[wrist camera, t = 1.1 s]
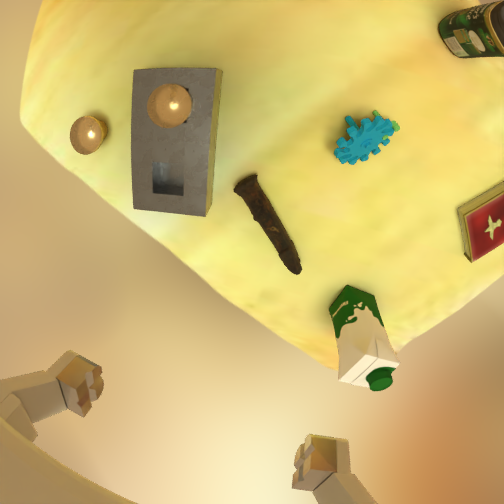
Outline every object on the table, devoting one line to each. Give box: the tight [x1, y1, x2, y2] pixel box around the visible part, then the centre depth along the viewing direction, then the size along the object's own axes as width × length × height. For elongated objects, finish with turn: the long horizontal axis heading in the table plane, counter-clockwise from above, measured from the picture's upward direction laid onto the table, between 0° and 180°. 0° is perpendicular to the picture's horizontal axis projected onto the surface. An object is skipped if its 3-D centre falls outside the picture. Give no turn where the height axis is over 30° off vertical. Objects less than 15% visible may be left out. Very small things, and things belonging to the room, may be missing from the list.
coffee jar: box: [439, 0, 504, 58], centre depth 20 cm, size 10×8×19 cm
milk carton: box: [329, 285, 400, 391], centre depth 49 cm, size 9×9×20 cm
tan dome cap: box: [70, 116, 108, 155], centre depth 41 cm, size 6×6×5 cm
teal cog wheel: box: [334, 110, 400, 165], centre depth 38 cm, size 11×6×10 cm
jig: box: [131, 68, 223, 217], centre depth 41 cm, size 22×12×6 cm, turn 174°
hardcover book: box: [457, 181, 504, 263], centre depth 42 cm, size 12×21×4 cm, turn 123°
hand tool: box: [234, 175, 302, 275], centre depth 48 cm, size 19×4×5 cm, turn 28°
